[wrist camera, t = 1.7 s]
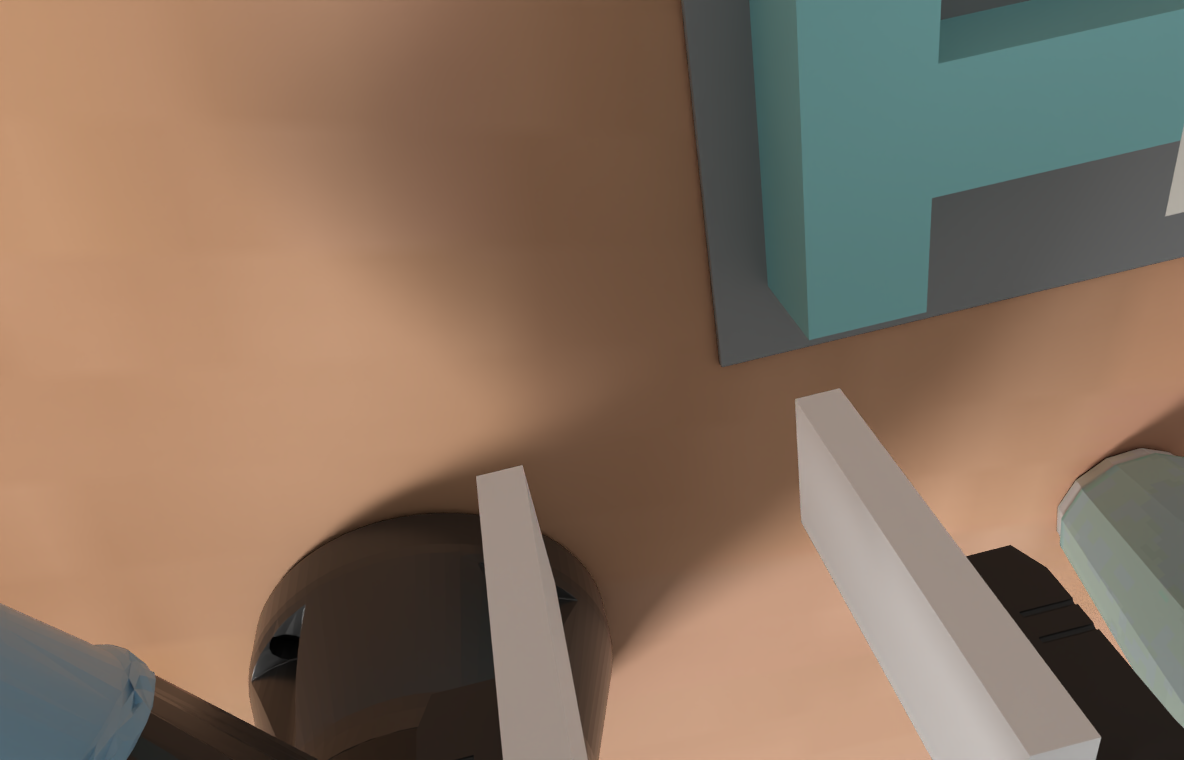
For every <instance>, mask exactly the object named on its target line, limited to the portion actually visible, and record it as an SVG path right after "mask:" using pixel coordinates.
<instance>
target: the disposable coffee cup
mask: <svg viewBox="0 0 1184 760" xmlns="http://www.w3.org/2000/svg"><path fill="white" fill-rule="evenodd" d="M1057 532H1058V534H1059V536H1060V546H1061V548H1062V549H1063V551H1064V553H1065V554H1066V556H1067V558H1068V560H1069V561H1070V563H1071V565H1072V566H1073V568H1074V570H1075V571H1076V573H1077V575H1078V577H1079V578H1080V580H1081V582H1082V583H1083V585H1084V587H1085V588H1086V590H1087V592H1088V594H1089V595H1090V597H1091V599H1092V600H1093V602H1094V604H1095V605H1096V607H1097V609H1098V611H1099V612H1100V614H1101V616H1102V617H1103V619H1104V621H1105V622H1106V624H1107V626H1108V628H1109V629H1110V631H1111V633H1112V634H1113V636H1114V638H1115V640H1116V641H1117V643H1118V645H1119V646H1120V648H1121V650H1122V651H1123V653H1124V655H1125V657H1126V658H1127V660H1128V662H1129V663H1130V665H1131V667H1132V668H1133V670H1134V671H1135V672H1136V674H1137V675H1138V676H1139V677H1140V678H1141V680H1142V681H1143V682H1144V683H1145V684H1146V685H1147V687H1148V688H1149V689H1150V690H1151V691H1152V693H1153V694H1154V695H1155V696H1156V697H1157V698H1158V700H1159V701H1160V702H1161V703H1162V704H1163V706H1164V707H1165V708H1166V709H1167V710H1168V711H1169V713H1170V714H1171V715H1172V716H1173V717H1174V719H1175V720H1176V721H1177V722H1178V723H1179V724H1180V725H1181V726H1182V727H1183V728H1184V457H1181V456H1175V455H1173V454H1171V453H1170V452H1165V451H1158V450H1152V449H1145V448H1139V449H1136V450H1132V451H1129V452H1126V453H1122V454H1119V455H1116V456H1113V457H1109V458H1106V459H1105V460H1103V461H1102V462H1101V463H1099V464H1098V465H1096V466H1095V467H1094V468H1092V469H1091V470H1089V471H1088V472H1087V473H1085V474H1084V475H1082V476H1081V477H1080V478H1078V479H1077V480H1076V481H1075V482H1074V484H1073V485H1072V487H1071V488H1070V490H1069V491H1068V493H1067V494H1066V496H1065V497H1064V498H1063V500H1062V501H1061V503H1060V504H1059V506H1058V515H1057Z"/></svg>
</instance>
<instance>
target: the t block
mask: <svg viewBox="0 0 1184 760" xmlns="http://www.w3.org/2000/svg"><path fill="white" fill-rule="evenodd" d="M749 6H750V21H751V36H752V51H753V66H754V82H755V97H756V112H757V127H758V143H759V158H760V173H761V188H762V203H763V219H764V234H765V249H766V264H767V279H768V287H769V288H770V290H771V291H772V292H773V293H774V295H775V296H776V297H777V299H778V300H779V301H780V303H781V304H782V305H783V307H784V308H785V309H786V311H787V312H788V313H789V315H790V316H791V317H792V318H793V320H794V321H795V322H796V324H797V325H798V326H799V328H800V329H801V330H802V332H803V333H804V334H805V336H806V337H807V338H808V340H812V339H816V338H820V337H825V336H829V335H833V334H837V333H841V332H846V331H850V330H854V329H858V328H862V327H866V326H871V325H875V324H879V323H883V322H887V321H892V320H896V319H900V318H904V317H908V316H912V315H917V314H921V313H925V312H927V291H928V270H929V249H930V228H931V207H932V198H935V197H939V196H944V195H948V194H952V193H956V192H961V191H965V190H969V189H974V188H978V187H982V186H987V185H991V184H995V183H999V182H1004V181H1008V180H1012V179H1017V178H1021V177H1025V176H1030V175H1034V174H1038V173H1043V172H1047V171H1051V170H1055V169H1060V168H1064V167H1068V166H1073V165H1077V164H1081V163H1086V162H1090V161H1094V160H1098V159H1103V158H1107V157H1111V156H1116V155H1120V154H1124V153H1129V152H1133V151H1137V150H1142V149H1146V148H1150V147H1154V146H1159V145H1163V144H1167V143H1172V142H1176V141H1180V140H1181V137H1182V132H1183V127H1184V0H1029V1H1025V2H1020V3H1016V4H1011V5H1007V6H1002V7H998V8H993V9H988V10H984V11H979V12H975V13H970V14H966V15H961V16H957V17H952V18H948V19H943V20H940V17H941V0H749Z"/></svg>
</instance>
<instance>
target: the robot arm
mask: <svg viewBox="0 0 1184 760" xmlns="http://www.w3.org/2000/svg"><path fill="white" fill-rule="evenodd" d="M795 410H796V429H797V449H798V469H799V488H800V508H801V522H802V524H803V526H804V528H805V530H806V532H807V533H808V535H809V537H810V539H811V541H812V542H813V544H814V546H815V548H816V550H817V551H818V553H819V555H820V557H821V559H822V561H823V562H824V564H825V566H826V568H827V570H828V571H829V573H830V575H831V577H832V579H833V580H834V582H835V584H836V586H837V588H838V590H839V591H840V593H841V595H842V597H843V599H844V600H845V602H846V604H847V606H848V608H849V609H850V611H851V613H852V615H853V617H854V619H855V620H856V622H857V624H858V626H859V628H860V629H861V631H862V633H863V635H864V637H865V638H866V640H867V642H868V644H869V646H870V648H871V649H872V651H873V653H874V655H875V657H876V658H877V660H878V662H879V664H880V666H881V667H882V669H883V671H884V673H885V675H886V677H887V678H888V680H889V682H890V684H891V686H892V687H893V689H894V691H895V693H896V695H897V696H898V698H899V700H900V702H901V704H902V706H903V707H904V709H905V711H906V713H907V715H908V716H909V718H910V720H911V722H912V724H913V725H914V727H915V729H916V731H917V733H918V735H919V736H920V738H921V740H922V742H923V744H924V745H925V747H926V749H927V751H928V753H929V754H930V756H931V758H932V760H1184V728H1183V727H1182V726H1181V725H1180V724H1179V723H1178V722H1177V721H1176V720H1175V719H1174V717H1173V716H1172V715H1171V714H1170V713H1169V711H1168V710H1167V709H1166V708H1165V707H1164V706H1163V704H1162V703H1161V702H1160V701H1159V700H1158V698H1157V697H1156V696H1155V695H1154V694H1153V693H1152V691H1151V690H1150V689H1149V688H1148V687H1147V685H1146V684H1145V683H1144V682H1143V681H1142V680H1141V678H1140V677H1139V676H1138V675H1137V674H1136V672H1135V671H1134V670H1133V669H1132V668H1131V667H1130V665H1129V664H1128V663H1127V662H1126V661H1125V659H1124V658H1123V657H1122V656H1121V655H1120V654H1119V652H1118V651H1117V650H1116V649H1115V648H1114V646H1113V645H1112V644H1111V643H1110V642H1109V641H1108V639H1107V638H1106V637H1105V636H1104V635H1103V633H1102V632H1101V631H1100V630H1099V629H1098V630H1096V629H1095V627H1094V623H1093V622H1092V620H1091V619H1090V618H1089V617H1088V616H1087V615H1086V613H1085V612H1084V611H1083V610H1082V609H1081V607H1080V606H1079V605H1078V604H1076V605H1075V604H1074V602H1073V598H1072V597H1071V596H1070V594H1069V593H1068V592H1067V591H1066V590H1065V589H1064V587H1063V586H1062V585H1061V584H1060V583H1059V581H1058V580H1057V579H1056V578H1055V577H1054V576H1053V574H1052V573H1051V572H1050V571H1049V570H1048V568H1046V567H1045V566H1043V565H1042V564H1040V563H1038V562H1037V561H1035V560H1034V559H1032V558H1030V557H1029V556H1027V555H1026V554H1024V553H1022V552H1021V551H1019V550H1018V549H1016V548H1014V547H1013V546H1011V545H1009V546H1005V547H1001V548H997V549H993V550H989V551H985V552H981V553H977V554H974V555H970V556H965V555H964V553H963V552H962V551H961V549H960V548H959V547H958V545H957V544H956V543H955V541H954V540H953V539H952V537H951V536H950V535H949V533H948V532H947V531H946V529H945V528H944V527H943V525H942V524H941V523H940V521H939V520H938V519H937V517H936V516H935V515H934V513H933V512H932V511H931V509H930V508H929V507H928V505H927V504H926V503H925V501H924V500H923V499H922V497H921V496H920V494H919V493H918V492H917V490H916V489H915V488H914V486H913V485H912V484H911V482H910V481H909V480H908V478H907V477H906V476H905V474H904V473H903V472H902V470H901V469H900V468H899V466H898V465H897V464H896V462H895V461H894V460H893V458H892V457H891V456H890V454H889V453H888V452H887V450H886V449H885V448H884V446H883V445H882V444H881V442H880V441H879V440H878V438H877V437H876V436H875V434H874V433H873V432H872V430H871V429H870V428H869V426H868V425H867V424H866V422H865V421H864V420H863V418H862V417H861V416H860V414H859V413H858V412H857V410H856V409H855V408H854V406H853V405H852V404H851V402H850V401H849V400H848V398H847V397H846V396H845V394H844V393H843V392H842V390H841V389H840V388H838V389H834V390H830V391H826V392H822V393H818V394H814V395H809V396H805V397H801V398H797V399H795ZM476 481H477V492H478V502H479V513H480V515H473V514H461V513H431V514H420V515H411V516H405V517H399V518H394V519H390V520H385V521H381V522H378V523H374V524H371V525H368V526H365V527H362V528H359V529H356V530H354V531H352V532H349V533H347V534H344V535H342V536H340V537H338V538H336V539H334V540H332V541H330V542H329V543H327V544H325V545H323V546H321V547H320V548H318V549H317V550H315V551H314V552H312V553H311V554H309V555H308V556H307V557H306V558H304V559H303V560H302V561H300V562H299V563H298V564H297V565H296V566H295V567H294V568H292V569H291V570H290V571H289V572H288V573H287V575H286V576H285V577H284V578H283V579H282V580H281V581H280V582H279V584H278V585H277V586H276V587H275V589H274V590H273V592H272V593H271V595H270V596H269V598H268V600H267V602H266V604H265V606H264V608H263V610H262V613H261V615H260V618H259V622H258V625H257V631H256V636H255V641H254V646H253V652H252V657H251V662H250V668H249V697H250V703H251V708H252V713H253V717H254V722H255V726H256V727H255V726H253V725H251V724H249V723H247V722H245V721H243V720H241V719H239V718H237V717H235V716H233V715H231V714H230V713H228V712H226V711H224V710H222V709H220V708H218V707H216V706H214V705H212V704H210V703H208V702H206V701H204V700H202V699H201V698H199V697H197V696H195V695H193V694H191V693H189V692H187V691H185V690H183V689H181V688H179V687H177V686H175V685H173V684H172V683H170V682H168V681H166V680H164V679H162V678H160V677H158V676H156V675H155V673H154V672H152V671H150V669H149V668H148V666H147V665H146V664H145V663H144V662H143V661H141V660H140V659H139V658H137V657H136V656H135V655H134V654H132V653H131V652H130V651H129V650H127V649H124V648H121V647H118V646H114V645H93V644H90V643H88V642H86V641H84V640H81V639H79V638H77V637H75V636H72V635H70V634H68V633H66V632H64V631H61V630H59V629H57V628H55V627H52V626H50V625H48V624H46V623H43V622H41V621H39V620H37V619H34V618H32V617H30V616H28V615H25V614H23V613H21V612H19V611H16V610H14V609H12V608H10V607H7V606H5V605H3V604H1V603H0V760H599V753H600V746H601V740H602V733H603V726H604V720H605V713H606V706H607V699H608V693H609V686H610V679H611V673H612V642H611V637H610V632H609V627H608V623H607V619H606V615H605V611H604V607H603V603H602V599H601V596H600V593H599V591H598V588H597V586H596V584H595V582H594V581H593V579H592V577H591V576H590V574H589V573H588V571H587V570H586V569H585V568H584V566H583V565H582V564H581V563H580V562H579V561H578V560H577V559H576V558H575V557H574V556H573V555H572V554H571V553H570V552H569V551H567V550H566V549H565V548H564V547H562V546H561V545H559V544H558V543H556V542H555V541H553V540H551V539H550V538H548V537H546V536H545V535H542V534H541V530H540V527H539V523H538V519H537V516H536V512H535V509H534V505H533V501H532V498H531V494H530V490H529V487H528V483H527V479H526V476H525V472H524V469H523V465H521V466H516V467H512V468H508V469H504V470H500V471H496V472H492V473H488V474H483V475H479V476H476Z"/></svg>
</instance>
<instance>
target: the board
mask: <svg viewBox="0 0 1184 760" xmlns="http://www.w3.org/2000/svg"><path fill="white" fill-rule="evenodd" d="M1025 1H1029V0H941V17H940V20H943V19H948V18H952V17H957V16H961V15H966V14H970V13H975V12H979V11H984V10H988V9H993V8H998V7H1002V6H1007V5H1011V4H1016V3H1020V2H1025ZM681 4H682V13H683V23H684V32H685V42H686V51H687V61H688V70H689V79H690V89H691V98H692V108H693V117H694V127H695V136H696V146H697V155H698V165H699V174H700V183H701V193H702V202H703V212H704V221H705V231H706V240H707V250H708V259H709V268H710V278H711V287H712V297H713V306H714V316H715V325H716V335H717V344H718V354H719V363H720V365H721V367H725V366H729V365H733V364H738V363H742V362H746V361H750V360H754V359H759V358H763V357H767V356H771V355H775V354H779V353H784V352H788V351H792V350H796V349H800V348H805V347H809V346H813V345H817V344H821V343H825V342H830V341H834V340H838V339H842V338H846V337H851V336H855V335H859V334H863V333H867V332H871V331H876V330H880V329H884V328H888V327H892V326H897V325H901V324H905V323H909V322H913V321H917V320H922V319H926V318H930V317H934V316H938V315H942V314H947V313H951V312H955V311H959V310H963V309H968V308H972V307H976V306H980V305H984V304H988V303H993V302H997V301H1001V300H1005V299H1009V298H1014V297H1018V296H1022V295H1026V294H1030V293H1034V292H1039V291H1043V290H1047V289H1051V288H1055V287H1060V286H1064V285H1068V284H1072V283H1076V282H1080V281H1085V280H1089V279H1093V278H1097V277H1101V276H1105V275H1110V274H1114V273H1118V272H1122V271H1126V270H1131V269H1135V268H1139V267H1143V266H1147V265H1151V264H1156V263H1160V262H1164V261H1168V260H1172V259H1177V258H1181V257H1184V127H1183V132H1182V137H1181V140H1180V141H1176V142H1172V143H1167V144H1163V145H1159V146H1154V147H1150V148H1146V149H1142V150H1137V151H1133V152H1129V153H1124V154H1120V155H1116V156H1111V157H1107V158H1103V159H1098V160H1094V161H1090V162H1086V163H1081V164H1077V165H1073V166H1068V167H1064V168H1060V169H1055V170H1051V171H1047V172H1043V173H1038V174H1034V175H1030V176H1025V177H1021V178H1017V179H1012V180H1008V181H1004V182H999V183H995V184H991V185H987V186H982V187H978V188H974V189H969V190H965V191H961V192H956V193H952V194H948V195H944V196H939V197H935V198H932V207H931V228H930V249H929V270H928V291H927V312H925V313H921V314H917V315H912V316H908V317H904V318H900V319H896V320H892V321H887V322H883V323H879V324H875V325H871V326H866V327H862V328H858V329H854V330H850V331H846V332H841V333H837V334H833V335H829V336H825V337H820V338H816V339H812V340H808V338H807V337H806V336H805V334H804V333H803V332H802V330H801V329H800V328H799V326H798V325H797V324H796V322H795V321H794V320H793V318H792V317H791V316H790V315H789V313H788V312H787V311H786V309H785V308H784V307H783V305H782V304H781V303H780V301H779V300H778V299H777V297H776V296H775V295H774V293H773V292H772V291H771V290H770V288H769V287H768V279H767V264H766V249H765V234H764V219H763V203H762V188H761V173H760V158H759V143H758V127H757V112H756V97H755V82H754V66H753V51H752V36H751V21H750V6H749V0H681Z"/></svg>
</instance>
